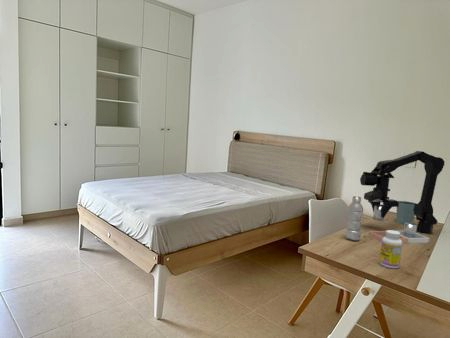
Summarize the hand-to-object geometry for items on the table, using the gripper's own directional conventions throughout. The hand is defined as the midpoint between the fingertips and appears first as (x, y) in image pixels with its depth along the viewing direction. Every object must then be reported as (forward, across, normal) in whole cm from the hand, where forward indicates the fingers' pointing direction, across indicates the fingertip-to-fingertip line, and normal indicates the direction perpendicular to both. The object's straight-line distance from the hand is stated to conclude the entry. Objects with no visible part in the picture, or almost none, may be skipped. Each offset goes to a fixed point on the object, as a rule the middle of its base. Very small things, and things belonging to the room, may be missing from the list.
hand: (378, 216), depth 159 cm
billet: (+7, +14, +6) cm, 17 cm away
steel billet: (+2, 0, 0) cm, 2 cm away
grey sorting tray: (+8, +14, 0) cm, 16 cm away
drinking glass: (+8, -15, +30) cm, 35 cm away
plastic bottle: (+8, +11, -22) cm, 26 cm away
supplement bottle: (+8, +39, -26) cm, 48 cm away
